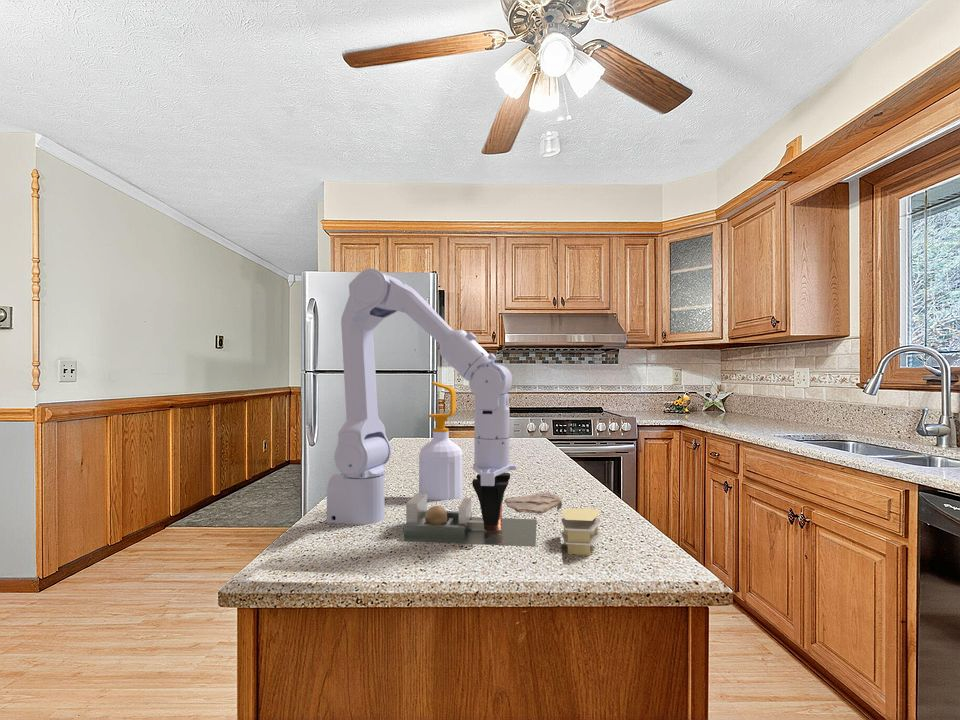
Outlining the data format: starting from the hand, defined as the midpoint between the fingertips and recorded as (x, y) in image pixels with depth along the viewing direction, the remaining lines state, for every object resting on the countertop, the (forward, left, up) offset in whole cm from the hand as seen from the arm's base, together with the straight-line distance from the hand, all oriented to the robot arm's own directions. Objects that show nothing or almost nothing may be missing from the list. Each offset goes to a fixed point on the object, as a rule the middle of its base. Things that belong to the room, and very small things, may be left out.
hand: (492, 521), depth 85 cm
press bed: (-3, 0, -3) cm, 4 cm away
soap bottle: (-13, +23, -3) cm, 27 cm away
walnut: (-9, 0, -1) cm, 9 cm away
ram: (-2, 0, -1) cm, 2 cm away
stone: (+6, +17, -3) cm, 18 cm away
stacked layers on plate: (+14, -3, -3) cm, 15 cm away
